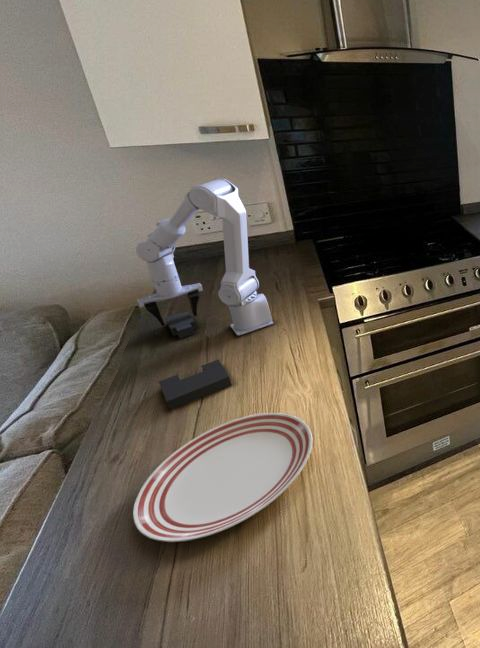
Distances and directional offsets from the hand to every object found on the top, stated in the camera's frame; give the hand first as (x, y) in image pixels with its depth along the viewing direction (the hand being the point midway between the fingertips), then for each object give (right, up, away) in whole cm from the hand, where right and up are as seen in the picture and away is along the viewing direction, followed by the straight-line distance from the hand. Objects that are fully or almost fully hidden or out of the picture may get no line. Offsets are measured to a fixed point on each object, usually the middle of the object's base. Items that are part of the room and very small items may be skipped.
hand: (179, 319), depth 129 cm
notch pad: (+24, -12, -24) cm, 36 cm away
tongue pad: (+1, -3, 0) cm, 3 cm away
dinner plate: (+50, -22, -48) cm, 72 cm away
